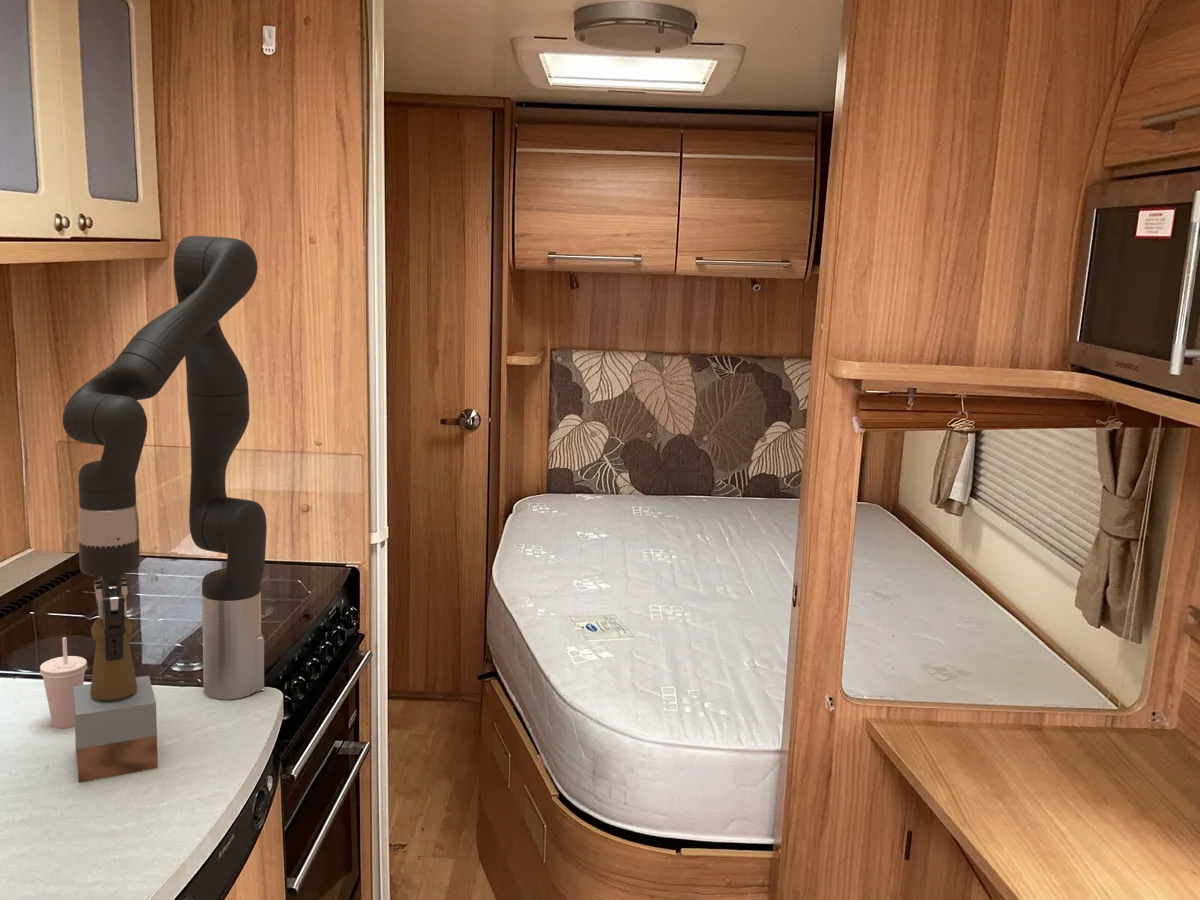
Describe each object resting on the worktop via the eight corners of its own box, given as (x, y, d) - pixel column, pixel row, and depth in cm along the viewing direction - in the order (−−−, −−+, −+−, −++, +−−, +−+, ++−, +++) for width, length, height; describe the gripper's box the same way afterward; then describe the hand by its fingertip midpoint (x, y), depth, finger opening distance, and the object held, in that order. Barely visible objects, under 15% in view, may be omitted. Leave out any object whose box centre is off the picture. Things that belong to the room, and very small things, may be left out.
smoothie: (57, 736, 146) (52, 648, 143) (33, 724, 149) (29, 637, 147) (98, 721, 151) (94, 636, 149) (74, 709, 155) (71, 626, 152)
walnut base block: (150, 737, 147) (149, 706, 146) (157, 768, 139) (156, 735, 138) (75, 750, 142) (74, 718, 141) (78, 782, 134) (77, 749, 133)
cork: (146, 687, 140) (145, 615, 138) (110, 703, 135) (107, 628, 133) (117, 678, 143) (115, 607, 141) (80, 693, 137) (77, 619, 135)
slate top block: (149, 706, 146) (148, 675, 146) (156, 735, 138) (156, 702, 137) (74, 718, 141) (73, 686, 141) (77, 749, 133) (75, 715, 132)
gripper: (144, 548, 130) (147, 666, 133) (134, 521, 143) (137, 630, 146) (80, 553, 127) (85, 675, 130) (76, 525, 139) (81, 637, 142)
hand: (113, 651), depth 138 cm, fingers closed on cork, 5 cm apart
